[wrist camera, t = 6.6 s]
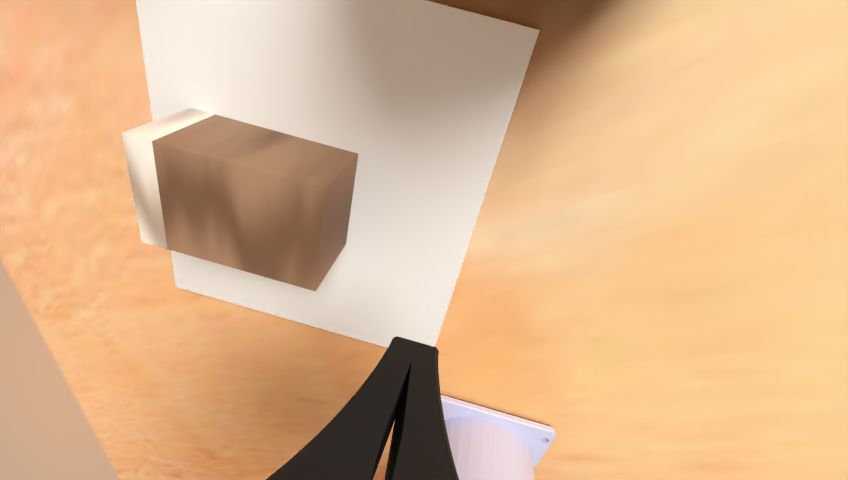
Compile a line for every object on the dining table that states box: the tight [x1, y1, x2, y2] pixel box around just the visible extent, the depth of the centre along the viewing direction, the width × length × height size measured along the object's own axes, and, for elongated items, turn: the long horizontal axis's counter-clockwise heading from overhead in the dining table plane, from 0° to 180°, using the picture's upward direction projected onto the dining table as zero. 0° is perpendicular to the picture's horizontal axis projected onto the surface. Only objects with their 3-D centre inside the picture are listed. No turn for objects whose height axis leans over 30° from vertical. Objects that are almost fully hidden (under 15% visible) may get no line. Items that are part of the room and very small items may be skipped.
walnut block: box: [122, 108, 358, 292], centre depth 18 cm, size 5×4×8 cm
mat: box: [136, 0, 540, 348], centre depth 20 cm, size 18×16×1 cm
